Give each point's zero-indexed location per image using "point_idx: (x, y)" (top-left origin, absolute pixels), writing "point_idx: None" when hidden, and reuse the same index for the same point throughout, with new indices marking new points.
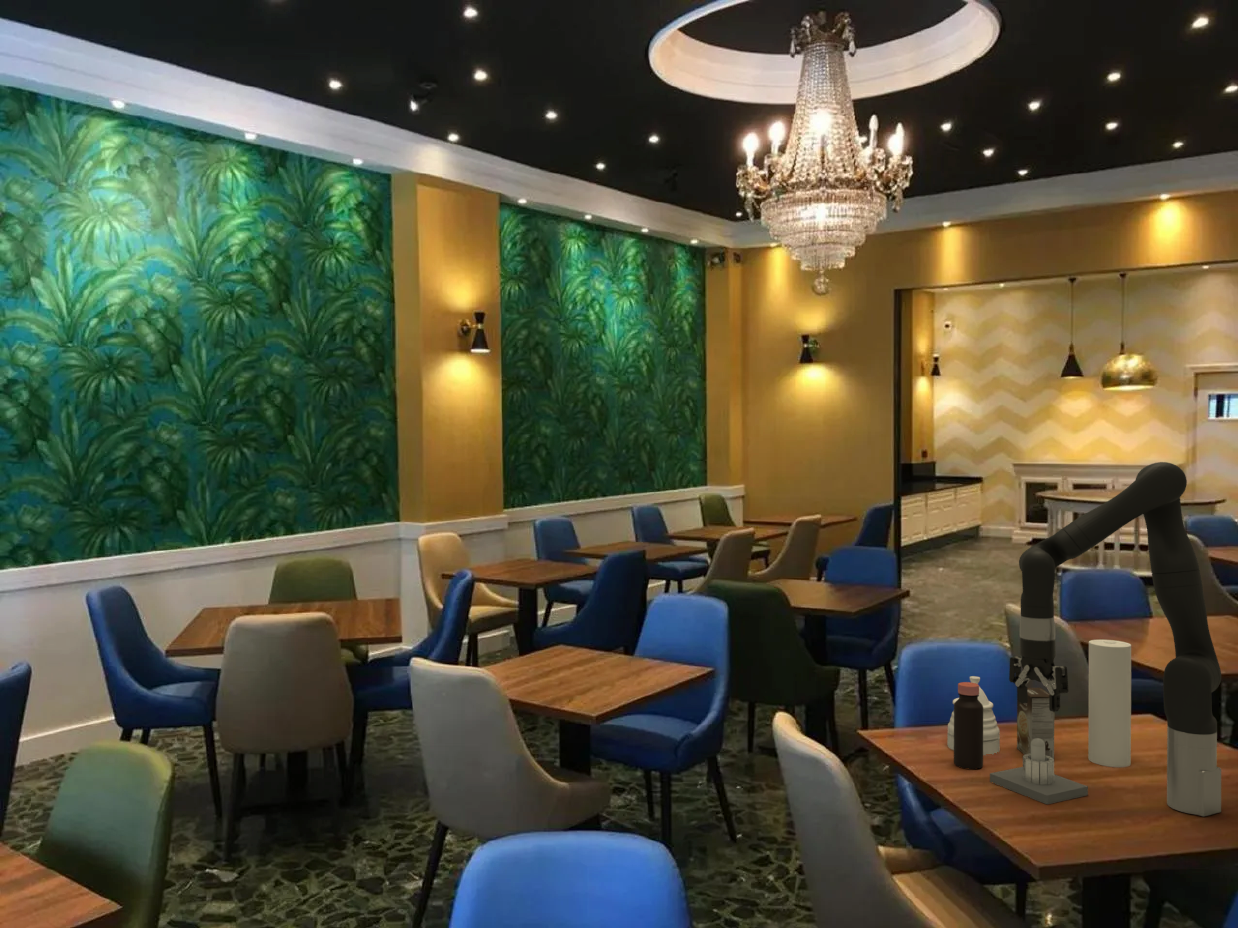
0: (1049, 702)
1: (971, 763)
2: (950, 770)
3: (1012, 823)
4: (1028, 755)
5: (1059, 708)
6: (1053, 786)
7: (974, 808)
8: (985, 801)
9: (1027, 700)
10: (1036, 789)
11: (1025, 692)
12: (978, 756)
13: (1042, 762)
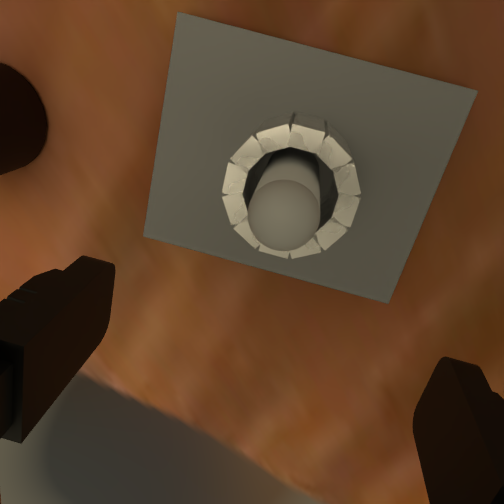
0: (428, 489)
1: (26, 161)
2: (11, 218)
3: (370, 466)
4: (239, 190)
5: (500, 399)
6: (369, 201)
7: (252, 440)
8: (243, 382)
9: (107, 265)
10: (336, 273)
11: (62, 336)
12: (19, 139)
13: (331, 241)
